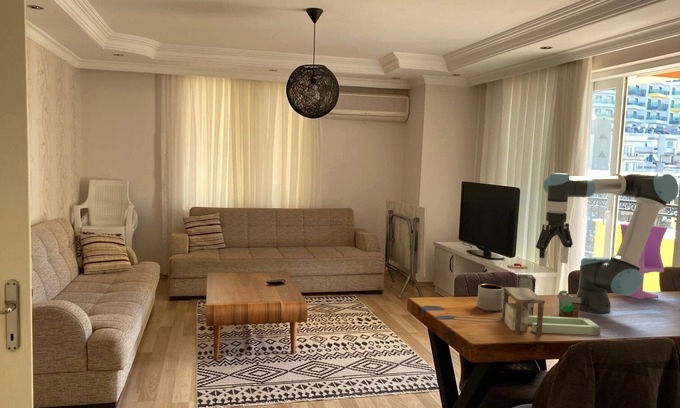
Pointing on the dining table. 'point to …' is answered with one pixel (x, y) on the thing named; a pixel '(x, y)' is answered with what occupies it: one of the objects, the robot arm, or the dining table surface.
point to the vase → (649, 258)
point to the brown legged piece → (524, 297)
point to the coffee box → (527, 282)
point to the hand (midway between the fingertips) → (553, 264)
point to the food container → (568, 305)
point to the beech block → (511, 316)
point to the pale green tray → (566, 325)
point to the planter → (490, 297)
